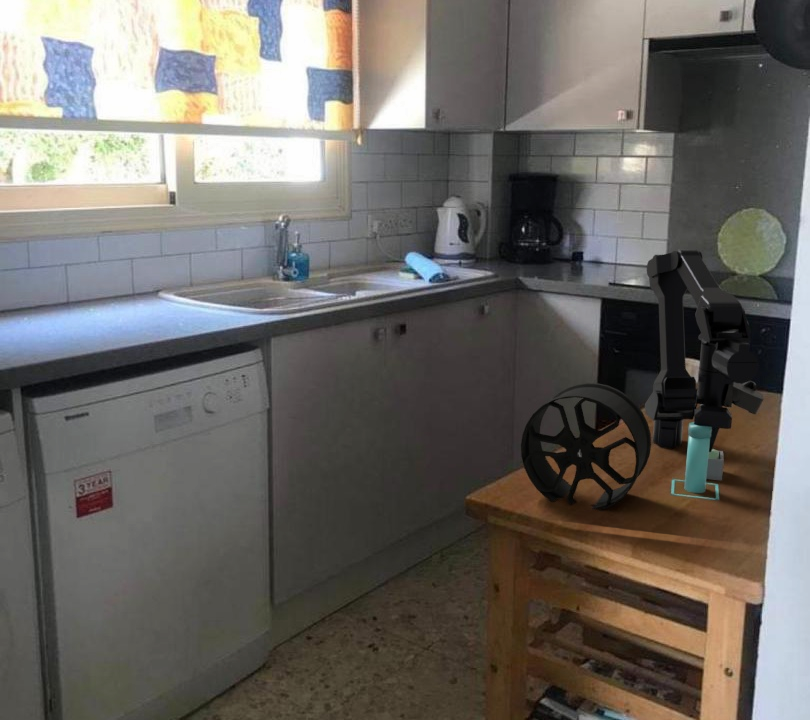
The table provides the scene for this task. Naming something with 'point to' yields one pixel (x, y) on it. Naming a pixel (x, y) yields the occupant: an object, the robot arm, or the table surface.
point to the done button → (714, 454)
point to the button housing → (715, 467)
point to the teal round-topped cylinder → (697, 458)
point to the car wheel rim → (584, 445)
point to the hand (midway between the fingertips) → (708, 451)
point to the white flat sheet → (695, 496)
